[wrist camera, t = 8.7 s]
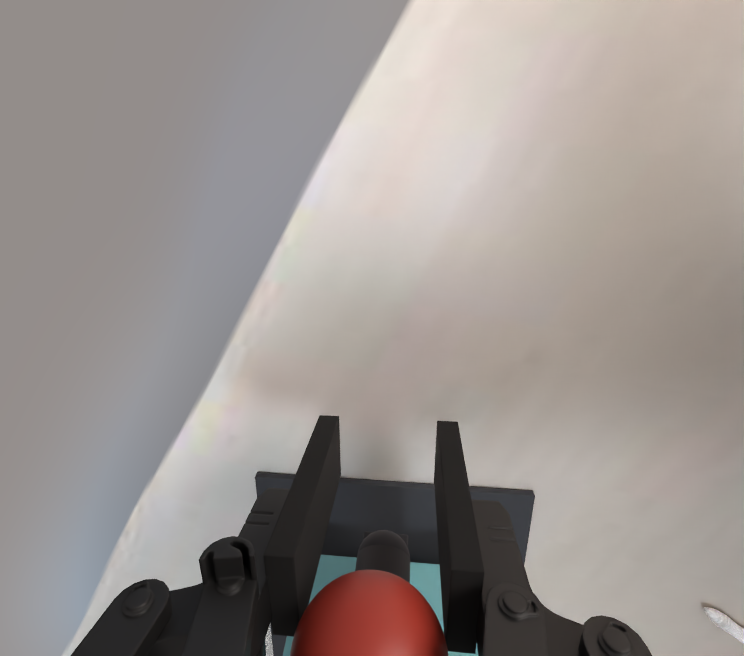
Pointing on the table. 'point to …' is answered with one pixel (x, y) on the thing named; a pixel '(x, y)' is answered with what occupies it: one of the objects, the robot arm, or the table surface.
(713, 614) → the picture light
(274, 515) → the robot arm
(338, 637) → the iron
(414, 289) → the table surface
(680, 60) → the table surface
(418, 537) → the ironing mat
